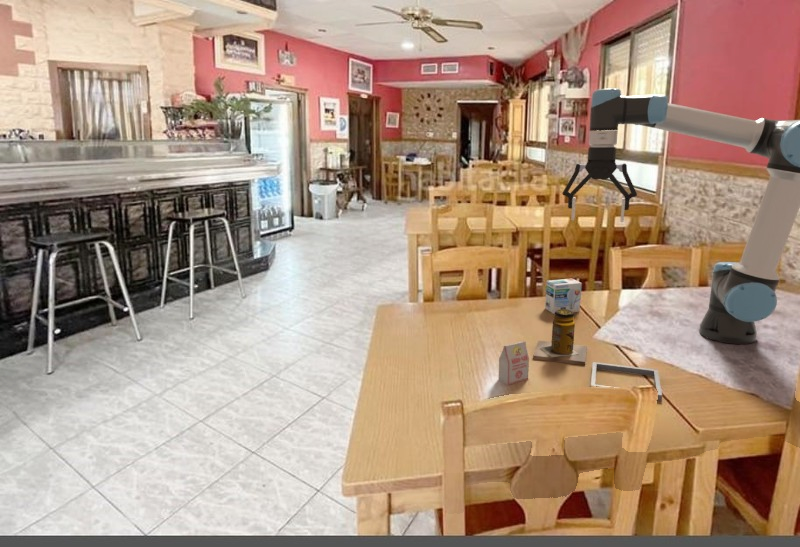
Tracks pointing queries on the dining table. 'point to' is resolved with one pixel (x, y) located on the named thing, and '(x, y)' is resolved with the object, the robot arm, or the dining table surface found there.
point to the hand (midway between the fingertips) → (596, 220)
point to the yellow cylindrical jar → (562, 334)
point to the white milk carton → (514, 363)
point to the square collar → (627, 370)
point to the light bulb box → (563, 295)
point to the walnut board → (572, 359)
